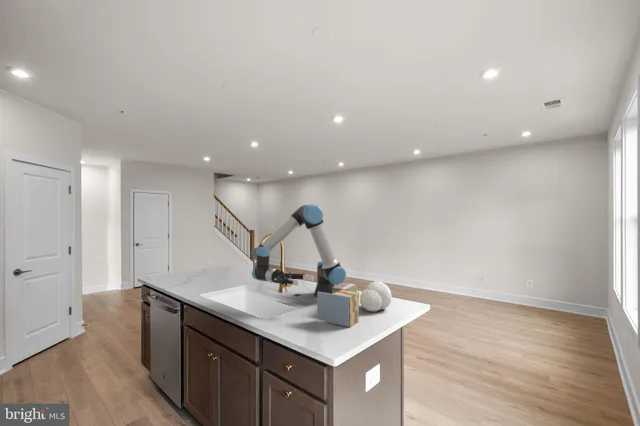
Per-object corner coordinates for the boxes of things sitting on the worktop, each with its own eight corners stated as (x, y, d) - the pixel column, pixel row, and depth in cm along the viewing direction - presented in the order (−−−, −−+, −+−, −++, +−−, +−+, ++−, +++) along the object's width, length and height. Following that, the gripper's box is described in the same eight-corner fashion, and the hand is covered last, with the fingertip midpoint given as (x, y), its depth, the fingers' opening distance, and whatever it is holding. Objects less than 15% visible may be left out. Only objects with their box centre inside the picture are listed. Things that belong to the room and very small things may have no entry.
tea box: (347, 316, 163) (347, 289, 163) (330, 313, 168) (331, 287, 168) (357, 309, 177) (357, 283, 177) (341, 306, 181) (341, 281, 181)
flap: (318, 318, 157) (318, 291, 157) (349, 325, 147) (349, 296, 147) (317, 319, 156) (317, 291, 156) (348, 326, 146) (348, 297, 147)
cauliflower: (372, 288, 192) (376, 271, 181) (395, 305, 183) (401, 288, 172) (352, 307, 180) (355, 290, 169) (376, 326, 171) (381, 310, 161)
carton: (341, 317, 161) (341, 289, 161) (358, 321, 156) (358, 292, 156) (332, 323, 152) (332, 293, 153) (350, 327, 147) (350, 296, 147)
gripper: (288, 278, 182) (318, 283, 171) (259, 286, 161) (291, 292, 150) (288, 266, 183) (318, 270, 171) (260, 272, 161) (291, 277, 150)
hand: (306, 280), depth 161 cm, fingers open, 13 cm apart
